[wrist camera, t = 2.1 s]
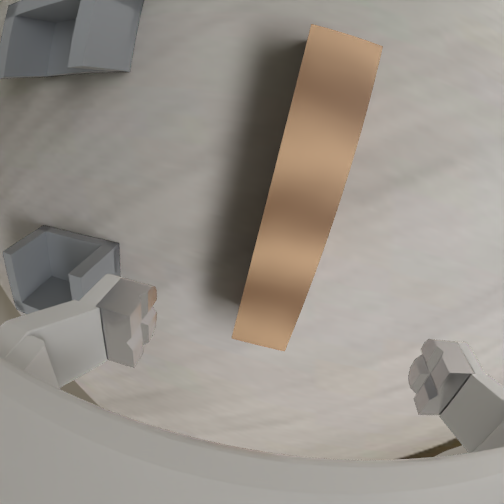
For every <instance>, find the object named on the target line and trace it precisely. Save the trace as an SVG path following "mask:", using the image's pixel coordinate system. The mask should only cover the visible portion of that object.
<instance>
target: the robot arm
mask: <svg viewBox="0 0 504 504" xmlns="http://www.w3.org/2000/svg"><path fill="white" fill-rule="evenodd" d="M156 300H157V290H156V288H155V286H152V285H148V284H145V283H141V282H137V281H134V280H130V279H127V278H123V277H120V276H116V275H112V274H106V275H105V276H104V277H103V278H102V279H101V280H100V281H98V282H97V283H96V284H95V285H94V286H93V287H92V288H91V289H90V290H89V291H88V292H87V293H86V294H85V295H84V296H83V297H82V298H81V299H80V301H77V300H72V301H69V302H66V303H62V304H59V305H56V306H52V307H49V308H46V309H43V310H39V311H36V312H33V313H30V314H26V315H23V316H20V317H17V318H14V319H10V320H7V321H5V322H4V323H3V324H2V325H1V326H0V504H504V386H503V385H501V384H500V383H499V382H498V381H496V380H495V379H494V378H493V377H491V376H490V375H486V374H485V372H484V370H483V368H482V366H481V365H480V363H479V361H478V359H477V357H476V356H475V354H474V352H473V350H472V349H471V347H470V345H469V344H468V343H466V342H460V341H445V340H435V339H428V340H427V341H426V342H425V343H424V344H423V346H422V348H421V353H422V355H420V356H419V357H418V358H416V359H415V360H414V362H413V363H412V365H411V367H410V371H409V375H408V380H409V385H410V388H411V389H412V390H413V391H414V392H415V393H416V395H415V397H414V401H415V405H416V408H417V411H418V415H440V416H439V417H440V418H441V419H442V420H443V421H444V423H445V424H446V425H447V426H448V428H449V429H450V430H451V431H452V433H453V434H454V435H455V436H456V438H457V439H458V440H459V441H460V443H461V444H462V445H463V446H464V448H465V449H466V450H467V452H468V453H464V454H457V455H450V456H441V457H430V458H418V459H399V460H346V459H327V458H314V457H303V456H294V455H285V454H278V453H270V452H264V451H258V450H252V449H246V448H240V447H235V446H230V445H225V444H221V443H216V442H212V441H207V440H203V439H199V438H195V437H191V436H187V435H183V434H180V433H176V432H172V431H169V430H166V429H162V428H159V427H156V426H152V425H149V424H146V423H143V422H140V421H137V420H134V419H131V418H129V417H126V416H123V415H120V414H117V413H115V412H112V411H110V410H107V409H104V408H102V407H99V406H97V405H94V404H92V403H90V402H87V401H85V400H82V399H80V398H78V397H76V396H74V395H71V394H69V393H67V392H65V391H62V390H60V387H62V386H64V385H66V384H67V383H69V382H71V381H73V380H75V379H76V378H78V377H80V376H82V375H84V374H85V373H87V372H89V371H91V370H92V369H94V368H96V367H98V366H99V365H101V364H103V363H105V362H106V361H107V360H110V361H114V362H117V363H120V364H123V365H126V366H130V367H133V368H135V366H136V364H137V362H138V361H139V359H140V357H141V355H142V354H143V345H144V344H146V343H149V341H150V340H151V338H152V336H153V333H154V330H155V327H156V319H157V312H156V310H155V309H154V307H153V304H154V303H155V301H156Z"/></svg>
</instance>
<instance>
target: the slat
mask: <svg viewBox="0 0 504 504" xmlns="http://www.w3.org/2000/svg"><path fill="white" fill-rule="evenodd" d="M382 47H383V46H380V45H377V44H375V43H372V42H369V41H366V40H363V39H360V38H357V37H354V36H351V35H348V34H345V33H342V32H338V31H335V30H332V29H328V28H325V27H321V26H317V25H313V24H311V28H310V32H309V35H308V39H307V43H306V47H305V51H304V55H303V59H302V63H301V67H300V71H299V75H298V79H297V83H296V87H295V91H294V95H293V99H292V103H291V107H290V111H289V115H288V119H287V122H286V126H285V130H284V134H283V138H282V142H281V146H280V150H279V154H278V158H277V162H276V166H275V170H274V174H273V178H272V182H271V186H270V189H269V193H268V197H267V201H266V205H265V209H264V213H263V217H262V221H261V225H260V229H259V233H258V237H257V240H256V244H255V248H254V252H253V256H252V260H251V264H250V268H249V272H248V276H247V280H246V284H245V287H244V291H243V295H242V299H241V303H240V307H239V311H238V315H237V319H236V323H235V327H234V330H233V334H232V339H236V340H240V341H244V342H248V343H252V344H256V345H260V346H264V347H268V348H272V349H277V350H281V351H285V349H286V347H287V344H288V342H289V339H290V337H291V334H292V332H293V329H294V327H295V324H296V322H297V319H298V317H299V314H300V312H301V309H302V307H303V304H304V301H305V299H306V296H307V293H308V291H309V288H310V285H311V283H312V280H313V277H314V275H315V272H316V269H317V266H318V264H319V261H320V258H321V255H322V252H323V250H324V247H325V244H326V241H327V238H328V235H329V232H330V229H331V226H332V223H333V220H334V217H335V214H336V211H337V208H338V205H339V202H340V199H341V196H342V193H343V190H344V187H345V184H346V180H347V177H348V174H349V171H350V167H351V164H352V161H353V157H354V154H355V151H356V147H357V144H358V140H359V137H360V133H361V130H362V126H363V123H364V119H365V115H366V112H367V108H368V104H369V100H370V97H371V93H372V89H373V85H374V81H375V77H376V73H377V69H378V65H379V60H380V56H381V52H382Z"/></svg>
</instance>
